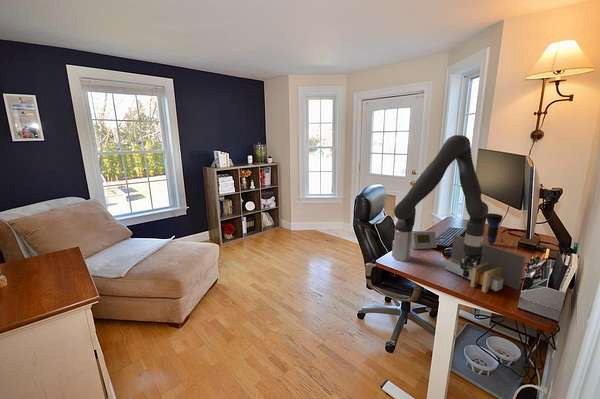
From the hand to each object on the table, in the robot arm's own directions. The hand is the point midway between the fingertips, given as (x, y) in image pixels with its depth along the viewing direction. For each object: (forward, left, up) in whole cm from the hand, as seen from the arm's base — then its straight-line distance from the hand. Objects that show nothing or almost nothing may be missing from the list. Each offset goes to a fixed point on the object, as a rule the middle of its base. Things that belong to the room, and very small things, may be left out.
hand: (468, 275), depth 129 cm
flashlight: (-18, +55, -2) cm, 58 cm away
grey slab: (+1, 0, -1) cm, 2 cm away
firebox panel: (+1, +10, -2) cm, 10 cm away
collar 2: (+10, 0, -2) cm, 10 cm away
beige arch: (+5, 0, -2) cm, 5 cm away
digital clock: (-36, +14, -2) cm, 39 cm away
